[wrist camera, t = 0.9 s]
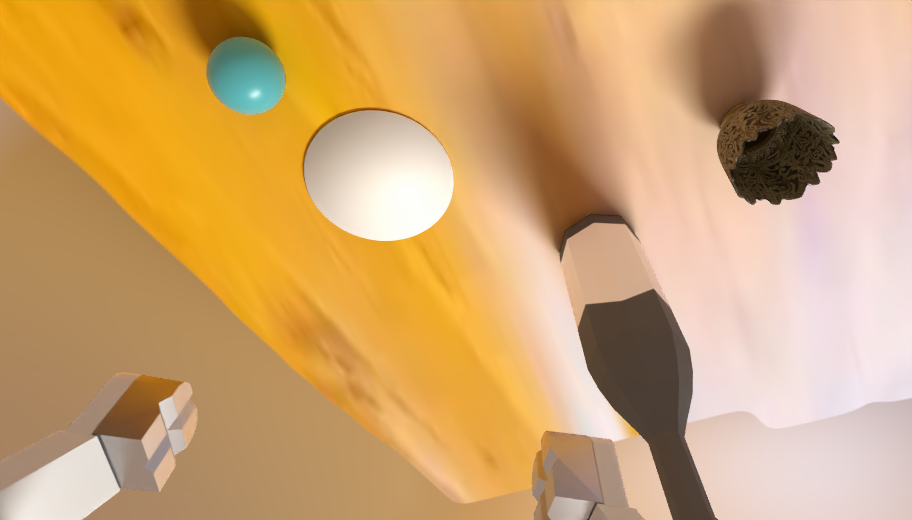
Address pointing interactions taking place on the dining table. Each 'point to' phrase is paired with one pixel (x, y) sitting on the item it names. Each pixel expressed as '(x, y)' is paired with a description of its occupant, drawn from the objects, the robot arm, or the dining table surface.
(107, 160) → the dining table surface
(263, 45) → the teal ball
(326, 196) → the cream mark
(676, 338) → the wine bottle
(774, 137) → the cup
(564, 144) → the dining table surface
